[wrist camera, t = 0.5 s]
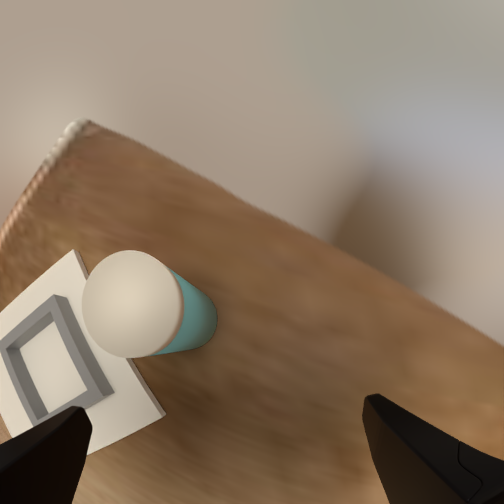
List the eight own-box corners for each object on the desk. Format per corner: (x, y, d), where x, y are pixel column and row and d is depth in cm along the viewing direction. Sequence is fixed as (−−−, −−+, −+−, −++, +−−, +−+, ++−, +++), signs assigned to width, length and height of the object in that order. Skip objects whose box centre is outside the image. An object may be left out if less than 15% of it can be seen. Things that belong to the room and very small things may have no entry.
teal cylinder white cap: (188, 362, 22) (128, 380, 12) (145, 319, 23) (65, 303, 13) (230, 316, 23) (200, 301, 13) (185, 275, 24) (128, 229, 14)
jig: (166, 414, 21) (153, 423, 18) (40, 474, 19) (23, 481, 16) (78, 252, 25) (60, 242, 22) (-21, 341, 23) (-40, 339, 20)
